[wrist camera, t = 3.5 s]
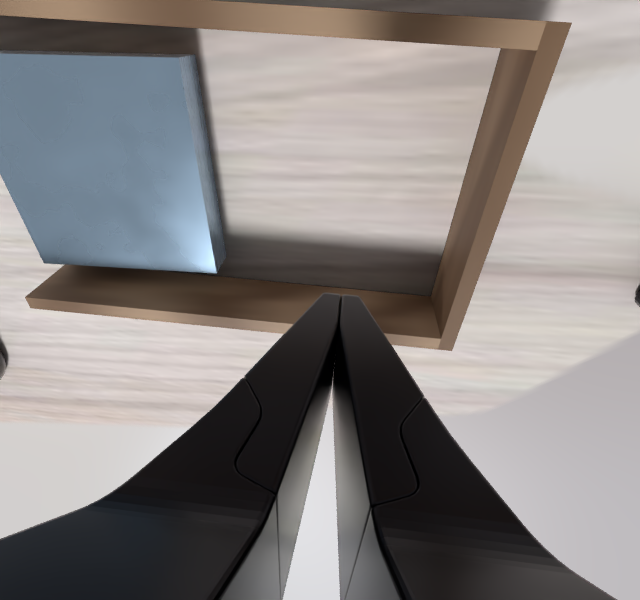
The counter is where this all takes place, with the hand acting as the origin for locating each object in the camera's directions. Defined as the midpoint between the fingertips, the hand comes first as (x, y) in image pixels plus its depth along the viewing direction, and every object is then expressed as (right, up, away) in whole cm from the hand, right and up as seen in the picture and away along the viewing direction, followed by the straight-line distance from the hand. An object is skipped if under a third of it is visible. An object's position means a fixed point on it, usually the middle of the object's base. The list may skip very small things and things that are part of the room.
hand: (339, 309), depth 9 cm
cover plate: (-9, +6, +7) cm, 13 cm away
